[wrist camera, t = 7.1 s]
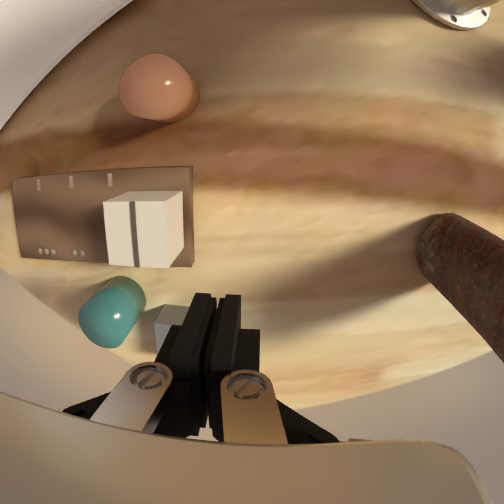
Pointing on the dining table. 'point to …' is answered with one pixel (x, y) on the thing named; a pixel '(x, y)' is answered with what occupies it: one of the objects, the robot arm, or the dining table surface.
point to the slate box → (168, 322)
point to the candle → (467, 273)
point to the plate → (42, 41)
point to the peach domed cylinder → (158, 89)
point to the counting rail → (89, 210)
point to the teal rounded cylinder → (112, 312)
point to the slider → (144, 228)
